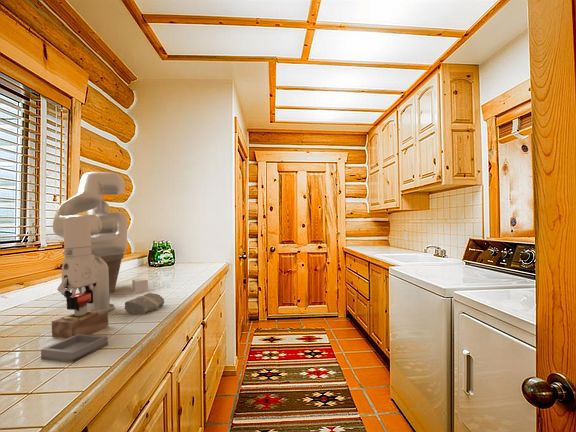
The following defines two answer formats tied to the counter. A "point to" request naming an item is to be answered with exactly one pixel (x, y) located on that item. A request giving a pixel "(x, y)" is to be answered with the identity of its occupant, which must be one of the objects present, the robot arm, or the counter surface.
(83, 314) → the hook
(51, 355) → the tray
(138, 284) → the pale pink cube
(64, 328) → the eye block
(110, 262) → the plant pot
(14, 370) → the counter surface
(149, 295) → the decorative stone
